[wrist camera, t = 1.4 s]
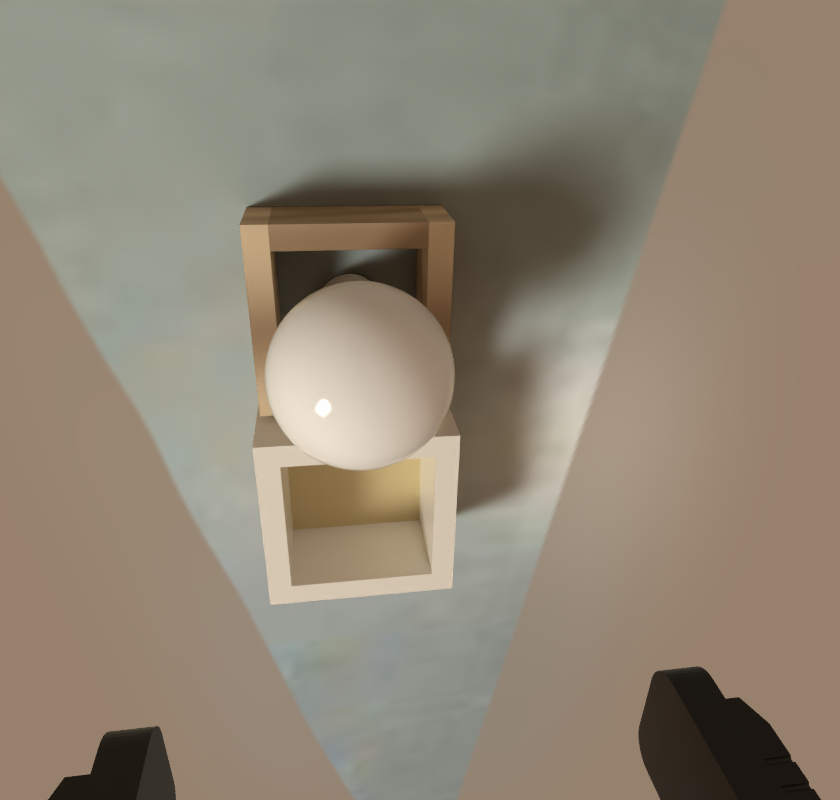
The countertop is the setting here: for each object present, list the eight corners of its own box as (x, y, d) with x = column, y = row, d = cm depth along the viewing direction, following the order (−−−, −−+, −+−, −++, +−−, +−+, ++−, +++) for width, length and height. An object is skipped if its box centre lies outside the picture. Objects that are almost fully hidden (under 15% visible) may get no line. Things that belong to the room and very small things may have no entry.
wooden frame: (246, 207, 27) (239, 225, 24) (441, 205, 28) (455, 221, 25) (264, 384, 31) (260, 416, 28) (435, 376, 32) (446, 406, 29)
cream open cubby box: (260, 390, 31) (252, 447, 26) (439, 382, 32) (460, 435, 28) (275, 534, 35) (270, 604, 30) (434, 521, 36) (451, 588, 32)
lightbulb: (442, 256, 29) (508, 360, 19) (389, 380, 32) (425, 527, 22) (301, 204, 27) (297, 291, 18) (257, 340, 30) (232, 482, 20)
